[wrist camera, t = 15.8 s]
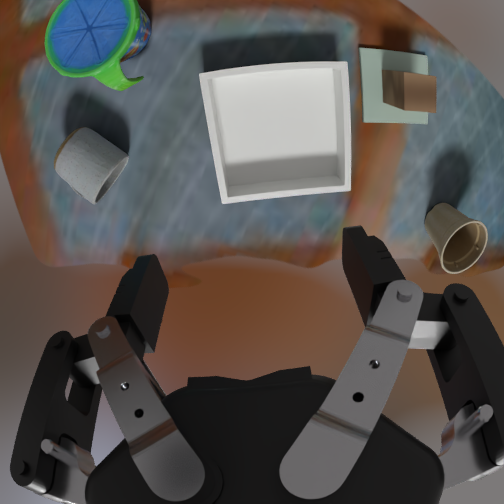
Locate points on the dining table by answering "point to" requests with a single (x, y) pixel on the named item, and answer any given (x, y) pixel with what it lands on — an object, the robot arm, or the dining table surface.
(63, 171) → the ceramic mug
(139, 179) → the dining table surface
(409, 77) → the walnut block
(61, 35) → the snack cup
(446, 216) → the flower pot
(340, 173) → the white bin
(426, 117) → the sage mat
